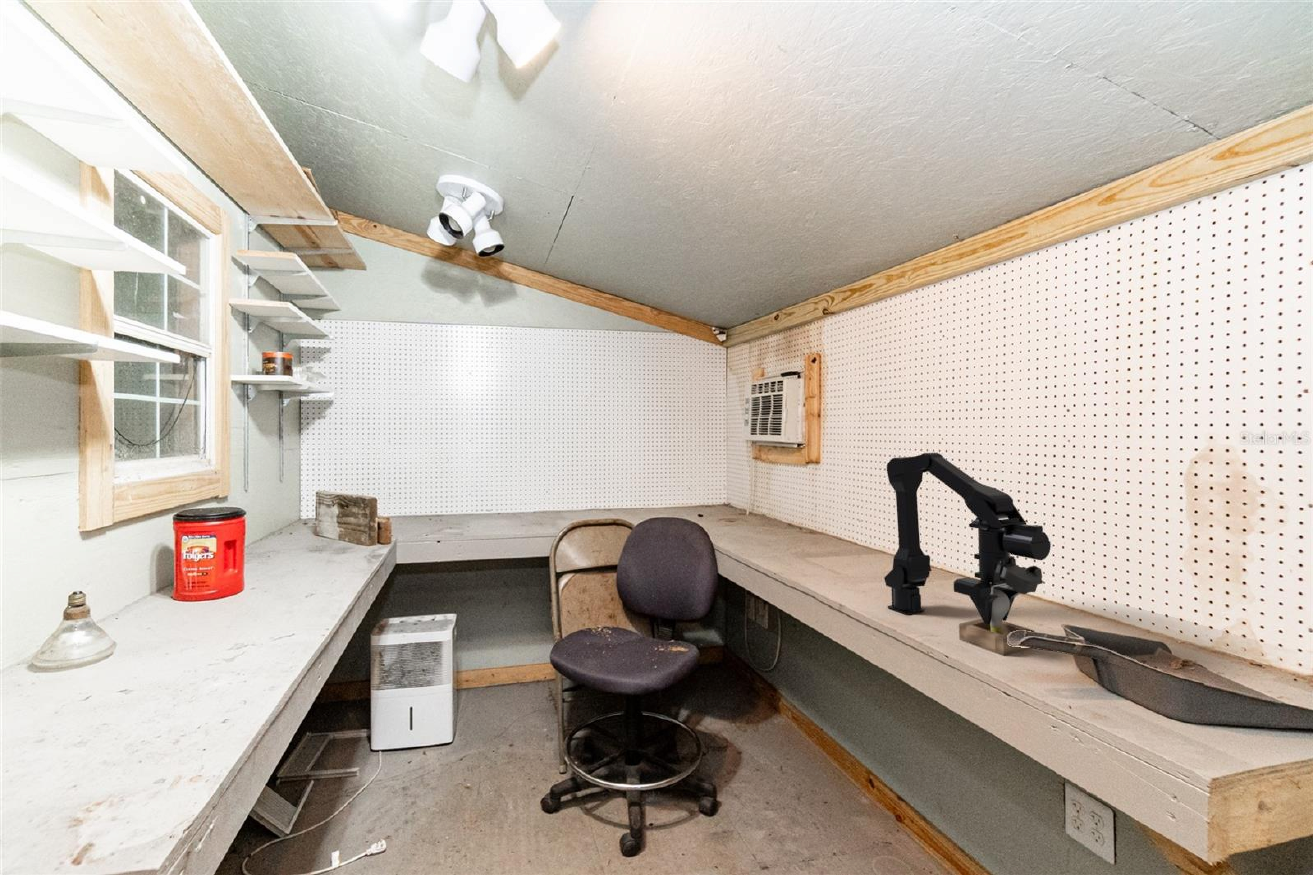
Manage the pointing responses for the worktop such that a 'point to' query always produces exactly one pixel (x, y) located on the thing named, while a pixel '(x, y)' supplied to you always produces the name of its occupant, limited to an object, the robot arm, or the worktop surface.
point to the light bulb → (999, 610)
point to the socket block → (989, 636)
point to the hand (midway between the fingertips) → (995, 622)
